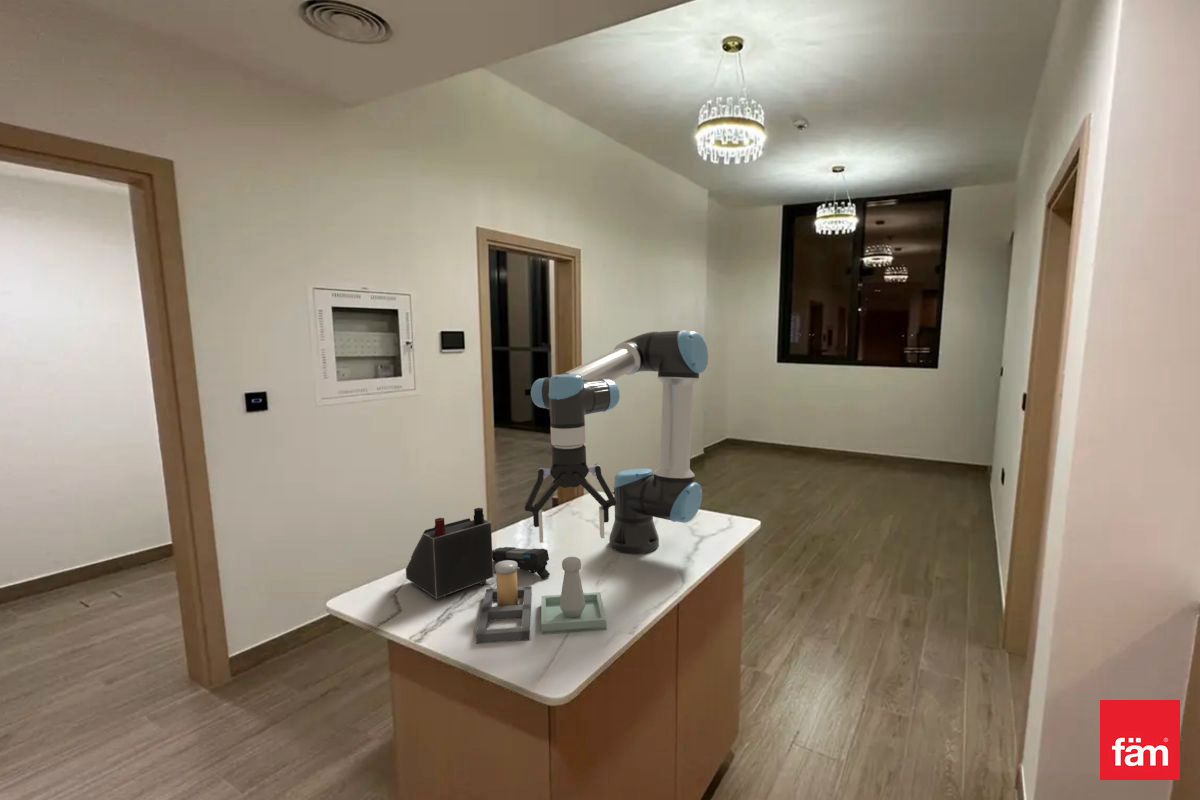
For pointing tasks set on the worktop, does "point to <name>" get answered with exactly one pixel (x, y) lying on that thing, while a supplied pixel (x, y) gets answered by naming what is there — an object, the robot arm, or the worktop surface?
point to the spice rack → (505, 607)
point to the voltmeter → (452, 556)
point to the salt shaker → (572, 588)
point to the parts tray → (558, 623)
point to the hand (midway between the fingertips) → (572, 538)
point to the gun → (524, 559)
